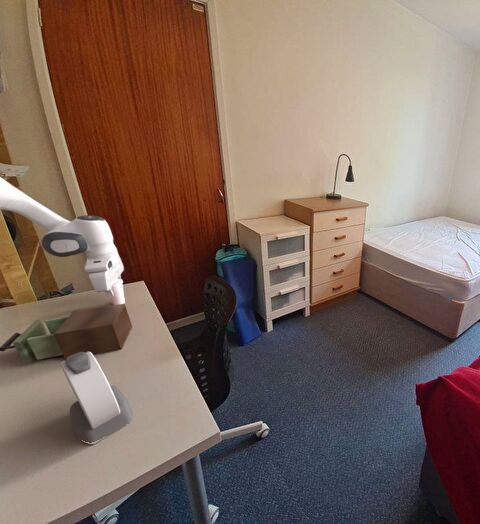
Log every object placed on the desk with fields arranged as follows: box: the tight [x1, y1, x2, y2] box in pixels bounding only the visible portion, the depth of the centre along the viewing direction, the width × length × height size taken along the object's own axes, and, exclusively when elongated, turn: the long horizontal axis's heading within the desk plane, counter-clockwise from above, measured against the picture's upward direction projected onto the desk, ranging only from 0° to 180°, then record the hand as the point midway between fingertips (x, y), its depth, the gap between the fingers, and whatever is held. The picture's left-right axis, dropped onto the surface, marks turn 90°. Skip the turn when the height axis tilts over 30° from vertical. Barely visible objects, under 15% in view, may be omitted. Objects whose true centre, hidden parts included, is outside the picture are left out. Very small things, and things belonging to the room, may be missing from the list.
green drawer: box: [0, 316, 69, 365], centre depth 85 cm, size 17×11×8 cm, turn 113°
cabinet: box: [54, 303, 133, 360], centre depth 89 cm, size 14×13×10 cm
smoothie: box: [108, 278, 126, 305], centre depth 109 cm, size 6×6×14 cm
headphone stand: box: [60, 352, 133, 443], centre depth 63 cm, size 16×10×18 cm, turn 53°
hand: (115, 291), depth 110 cm, fingers open, 7 cm apart
